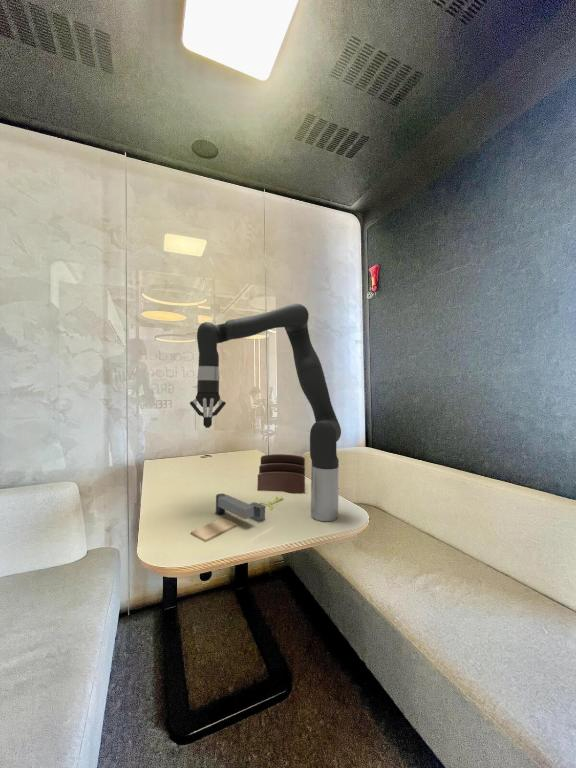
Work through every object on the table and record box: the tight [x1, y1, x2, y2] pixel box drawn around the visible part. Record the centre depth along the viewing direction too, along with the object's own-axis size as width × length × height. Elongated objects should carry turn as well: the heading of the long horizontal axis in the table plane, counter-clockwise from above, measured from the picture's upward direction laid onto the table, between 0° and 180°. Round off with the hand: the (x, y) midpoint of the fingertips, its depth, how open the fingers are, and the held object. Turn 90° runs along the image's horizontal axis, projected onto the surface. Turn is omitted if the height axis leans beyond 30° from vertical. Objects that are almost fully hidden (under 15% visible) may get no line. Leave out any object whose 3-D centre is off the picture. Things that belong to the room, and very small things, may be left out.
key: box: [257, 496, 284, 511], centre depth 111 cm, size 7×12×2 cm, turn 158°
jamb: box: [249, 501, 266, 523], centre depth 100 cm, size 10×19×5 cm, turn 53°
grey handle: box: [215, 493, 254, 520], centre depth 98 cm, size 17×4×6 cm, turn 48°
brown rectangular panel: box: [190, 517, 238, 543], centre depth 90 cm, size 12×7×1 cm, turn 143°
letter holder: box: [256, 454, 306, 494], centre depth 129 cm, size 10×20×14 cm, turn 88°
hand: (207, 427), depth 107 cm, fingers closed
